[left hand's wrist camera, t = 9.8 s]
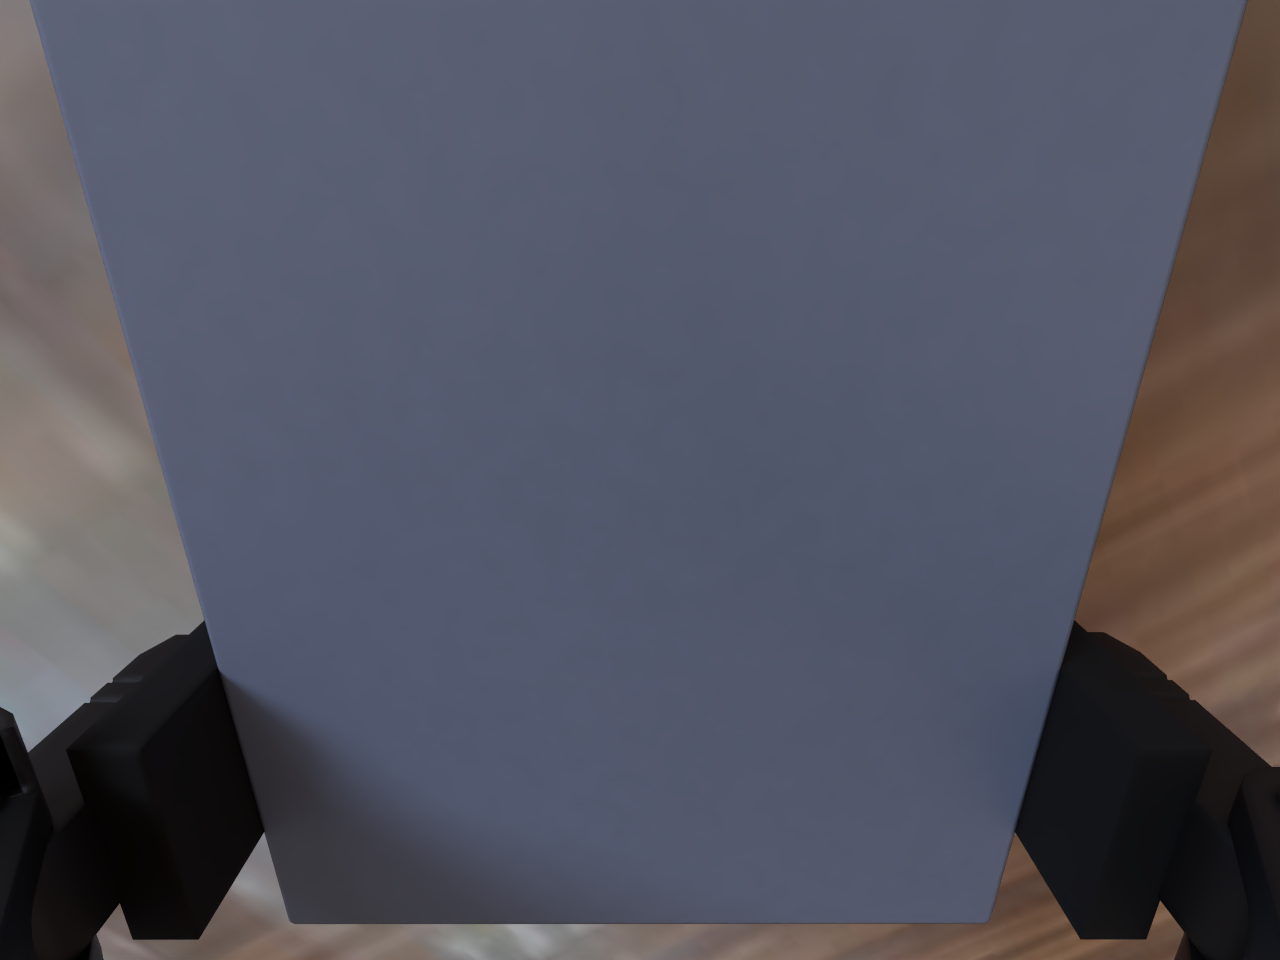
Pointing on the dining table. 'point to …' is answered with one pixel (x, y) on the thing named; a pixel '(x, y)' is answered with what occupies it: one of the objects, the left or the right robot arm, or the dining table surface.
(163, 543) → the dining table surface
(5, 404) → the dining table surface
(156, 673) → the left robot arm
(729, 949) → the dining table surface
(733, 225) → the cabinet
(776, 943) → the dining table surface
